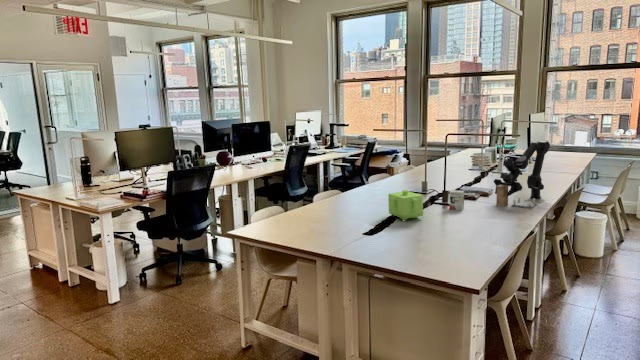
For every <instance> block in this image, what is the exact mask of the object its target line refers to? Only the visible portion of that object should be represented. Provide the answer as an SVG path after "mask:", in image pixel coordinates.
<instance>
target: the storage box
mask: <svg viewBox="0 0 640 360" xmlns="http://www.w3.org/2000/svg"><path fill="white" fill-rule="evenodd" d="M387 196H388V213H389V215H392V216H393V217H394V216H397V217H399V218H398V219H400V220H401V219H402V220H407V221H408V219H413V218H418V217H424V196H423V194H421V193H415V192H412V191H409V190H407V189H406V190H405V189H404V190H402V191H399V192H392V193H388V195H387ZM418 219H419V218H418Z"/></svg>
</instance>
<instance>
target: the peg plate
mask: <svg viewBox="0 0 640 360" xmlns="http://www.w3.org/2000/svg"><path fill="white" fill-rule="evenodd" d="M537 205H538V204H537V202H536V198H532V201H530V200H529V201H521V197H520V196H518V197H517V200H516V199H513V203H512V204H511V207H515V208H525V209H526V208H527V209H533V208H534V207H535V206H537Z"/></svg>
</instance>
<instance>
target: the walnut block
mask: <svg viewBox="0 0 640 360" xmlns="http://www.w3.org/2000/svg"><path fill="white" fill-rule="evenodd" d="M508 192H509V186H507V185H498V186H497V194H496V199H495V201H496V204H495V205H496V206H497V207H498V206H499V207H507V206H509V196H507V194H508Z"/></svg>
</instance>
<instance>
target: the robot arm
mask: <svg viewBox="0 0 640 360" xmlns="http://www.w3.org/2000/svg"><path fill="white" fill-rule="evenodd" d="M550 146H551V143H550V142H549V141H547V140H537V141H532V142H530V144H529V145H528V147H527V149H526V150H525V151H524V152H523V154H522V155H521V156H520V157H518V158H517V159H515V160H514V159H513V158H509V159H507V160H506V161H504V162H503V166H504V167H505V168H506V170H507V171H508V172H509V173H503V172H501V174H500V177H499V179H498V178H494V180H493V184H494V185H495V190H494V194H495V195H497V186H498V185H507V186H508V187H510V189H508V194H507V196H508V197H509V196H511V195H513V194H515V193H517V192H521V191H522V190H523V185H522V184H521V183H520V182H519V181H518V178H519V177H520V176H523V171H522V170H526V168H527V167H528V165H529V160H530V159H531V158H532V156H533V155H534V154H535V152H536V155H535V161H534V164H533V169H532V171H531V172H532V173H531V174H530V175H528V176H527V179H526V184H527V188H528V189H530V195H529V196H530V197H529V198H530V199H533V198H535V199H541V197H542V196H541V191H542V190H544V189H545V185H544V184H543V182H542V181H543V179H542V177H541V174H542V173H541V172H542V168H543V164H544V160H545V156H546V154H547V153H548V152H549V149H550ZM501 179H502V180H501Z"/></svg>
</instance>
